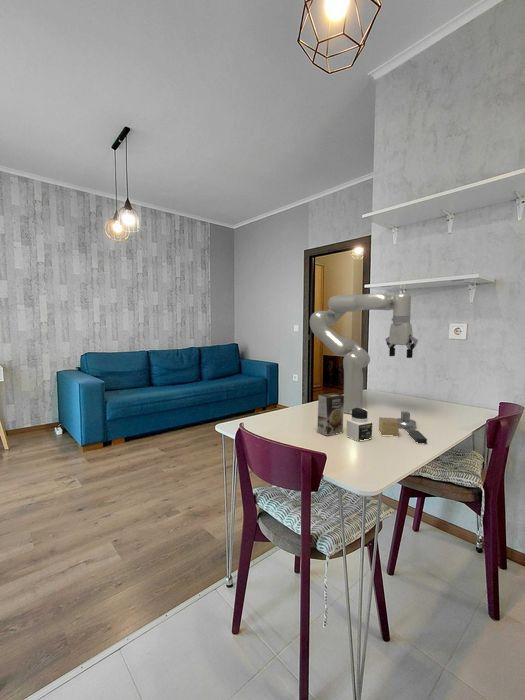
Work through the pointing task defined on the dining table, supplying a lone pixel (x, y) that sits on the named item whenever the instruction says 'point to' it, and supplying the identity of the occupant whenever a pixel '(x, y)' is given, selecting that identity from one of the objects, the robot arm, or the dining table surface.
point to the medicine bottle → (359, 425)
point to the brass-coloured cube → (389, 426)
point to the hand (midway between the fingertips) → (400, 356)
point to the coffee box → (330, 413)
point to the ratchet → (410, 427)
